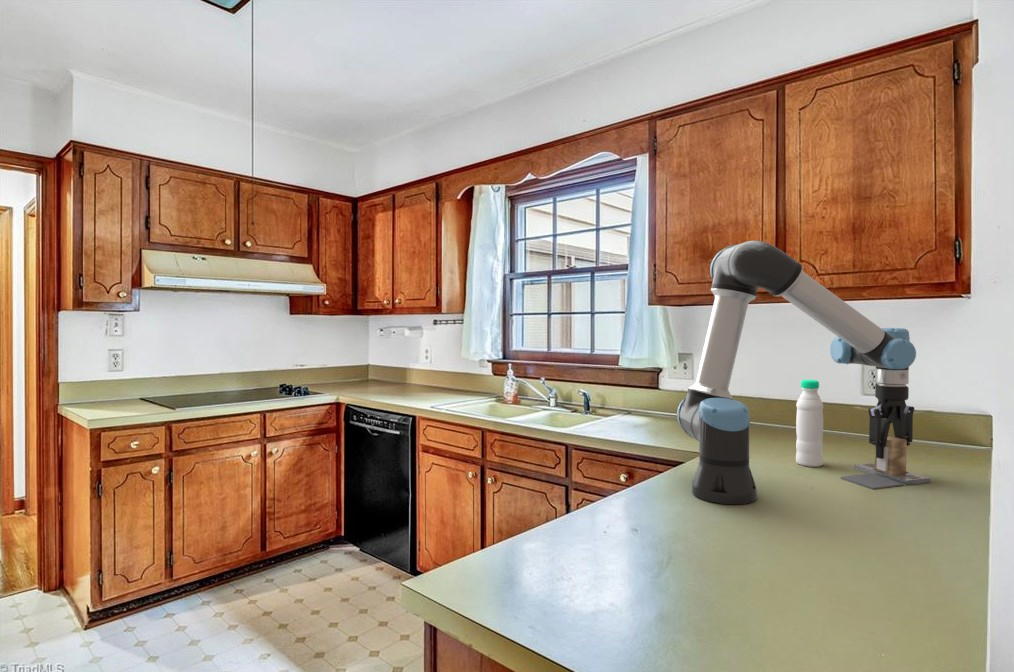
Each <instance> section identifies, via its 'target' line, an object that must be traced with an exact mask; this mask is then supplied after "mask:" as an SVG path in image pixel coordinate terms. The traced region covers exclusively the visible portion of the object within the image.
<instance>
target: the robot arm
mask: <svg viewBox="0 0 1014 672" xmlns="http://www.w3.org/2000/svg"><path fill="white" fill-rule="evenodd" d="M709 270H710V271H709V272H710V277H711V278H712V284H711V288H710V292H711V293H712V294H713V296H714V301H713V305H712V310H711V314H710V317H709V323H708V328H707V331H706V334H705V335H706V336H705V340H704V345H703V348H702V353H701V357H700V361H699V365H698V369H697V375H696V378H695V382H694V383H692V384H691V385H688V388H687V392H686V396H685V398H683V399H682V400H681V401H680V403H679V405H678V407H677V410H676V411H677V412H676V418H677V421H678V424H679V426H680V428H681V429H682V430H683V432H684V433H685V434H686V435H688V436H689V437H690V438H692V439H694V440H696V441H698V443H699V444H698V445H699V446H698V448H699V449H698V452H699V454H698V455H699V457H698V458H699V461H698V466H697V468H696V470H695V471H696V472H695V475H694V478H693V481H692V482H691V493H692V494H693V496H695V497H697V498H698V499H700V498H701V499H700V500H703V501H707V502H710V501H711V503H714V502H715V503H716V504H720V505H721V504H722V505H746V504H751V503H753V502H755V501H756V500H757V499H758V489H757V486H756V483H755V479H754V476H753V474H752V470H751V468H750V431H751V430H750V429H751V428H750V425H751V424H750V423H751V418H750V410H749V408H748V406H747V405H746V404H745V403H743V402H741V401H739V400H737V399H736V400H735V399H733V396H732V394H731V392H730V391H729V387H730V384H731V379H732V375H733V370H734V368H735V366H734V365H735V363H736V357H737V355H738V354H737V353H738V349H739V345H740V340H741V336H742V332H743V328H744V323H745V320H746V316H747V315H746V314H747V311H748V310H747V309H748V307H749V303H750V302H752V301H754V300H755V299H756V298H757V295H758V290H759V289H762V290H764V291H765V292H767V293H769V294H770V295H772V296H773V297H782V298H783V299H785V300H786V301H788V302H789V303H790V304H792V305H794V306H795V307H796V308H798V309H799V310H800V311H801V312H803V313H804V314H806V315H807V316H809V317H810V318H812V319H813V320H814V321H815V322H817V323H819V324H820V325H821V326H822V327H824V328H825V329H827V330H828V331H830V332H831V333H832V334H833V335H835V336H836V337H834V338H833V340H832V341H831V343H830V347H829V348H830V350H829V351H830V353H829V354H830V356H831V359H832V360H833V361H834V362H835V363H837V364H845V365H849V364H853V365H854V364H855V365H864V366H869V367H875V378H874V379H875V380H874V381H875V382H876V383H877V384H876V385H875V387H874V388H875V389H874V390H875V391H874V392H875V393H874V396H875V398H877V402H876V403H877V404H876V406H875V407H873V408H872V407H869V408H868V410H867V412H868V416H869V427H868V428H869V432H868V433H869V434H868V437H869V438H868V443H869V444H872V445H873V446H874V447H875V446H876V458H877V469H879V470H882V471H888V447H885V446H886V441H887V437H888V436H889V432H890V427H891V424H892V429H893V434H894V437H896V438H900V439H905V440H907V447H908V446H910V445H911V443H912V442H913V430H914V428H913V426H914V425H913V423H914V421H913V420H914V411H915V407H914V406H910V405H907V404H906V401H907V400H909V393H910V391H909V386H907V385H908V384H909V381H910V380H909V375H910V374H909V369H910V367H911V366H912V364H914V362H915V360H916V358H917V350H916V348H915V344H913V343H912V342H911V340H910V339H911V338H910V331H909V330H908V329H907V328H905V327H904V328H902V327H889V328H888V327H880V326H879V325H877V324H876V323H875V322H873V321H871V320H870V319H869V318H867V316H865V315H864V314H862V313H861V312H859V311H858V310H856V309H855V308H854V307H853V306H851V305H850V304H848V303H847V302H846V301H845V300H843V299H842V298H840V297H838V295H836V294H834V293H833V292H831V291H830V290H829V289H828V288H827V287H825V286H824V285H822V284H821V283H819V282H818V281H817V280H815V279H814V278H813V277H811V276H810V275H809V274H807V273H806V272H805V271H804V266H803V265H802V264H801V263H800V262H799V261H797V260H796V259H794V258H793V257H791V256H790V255H789V254H788V253H786V252H784V251H783V250H781V249H780V248H778V247H777V246H774V245H772V244H771V243H769V242H766V241H761V240H749V241H748V240H747V241H745V242H741V243H739V244H732V245H729V246H726V247H725V248H723V249H722V250H720V251H718V252H717V253H716V254H715V255H714V258H713V259H712V260H711V263H710V268H709Z"/></svg>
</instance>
